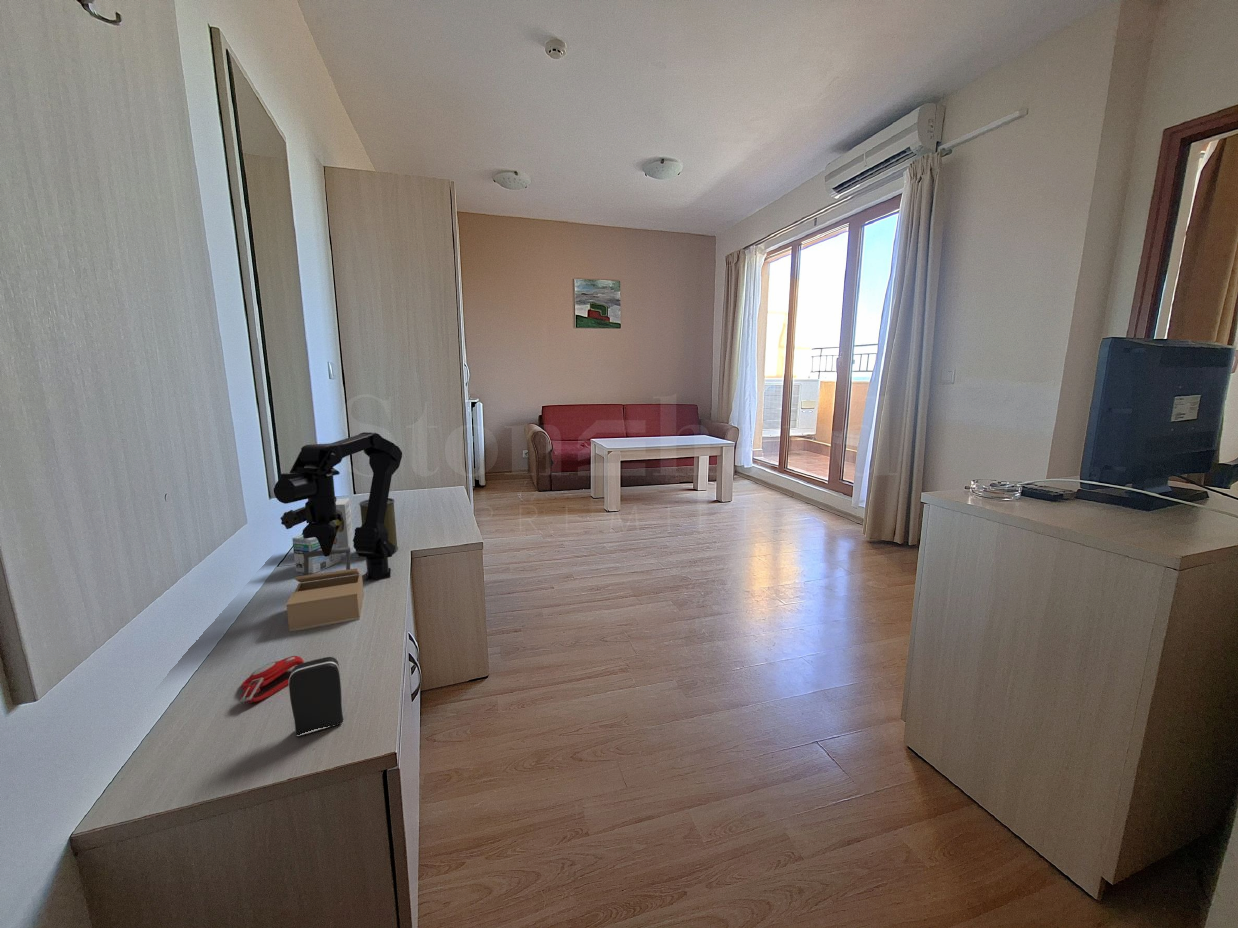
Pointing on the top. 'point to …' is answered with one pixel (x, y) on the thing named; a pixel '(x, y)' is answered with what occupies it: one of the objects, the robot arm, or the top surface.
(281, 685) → the tracker holder
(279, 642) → the top surface
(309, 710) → the battery charger
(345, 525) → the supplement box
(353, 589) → the kraft carton
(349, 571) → the carton flap
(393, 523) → the canister
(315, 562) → the light bulb box
